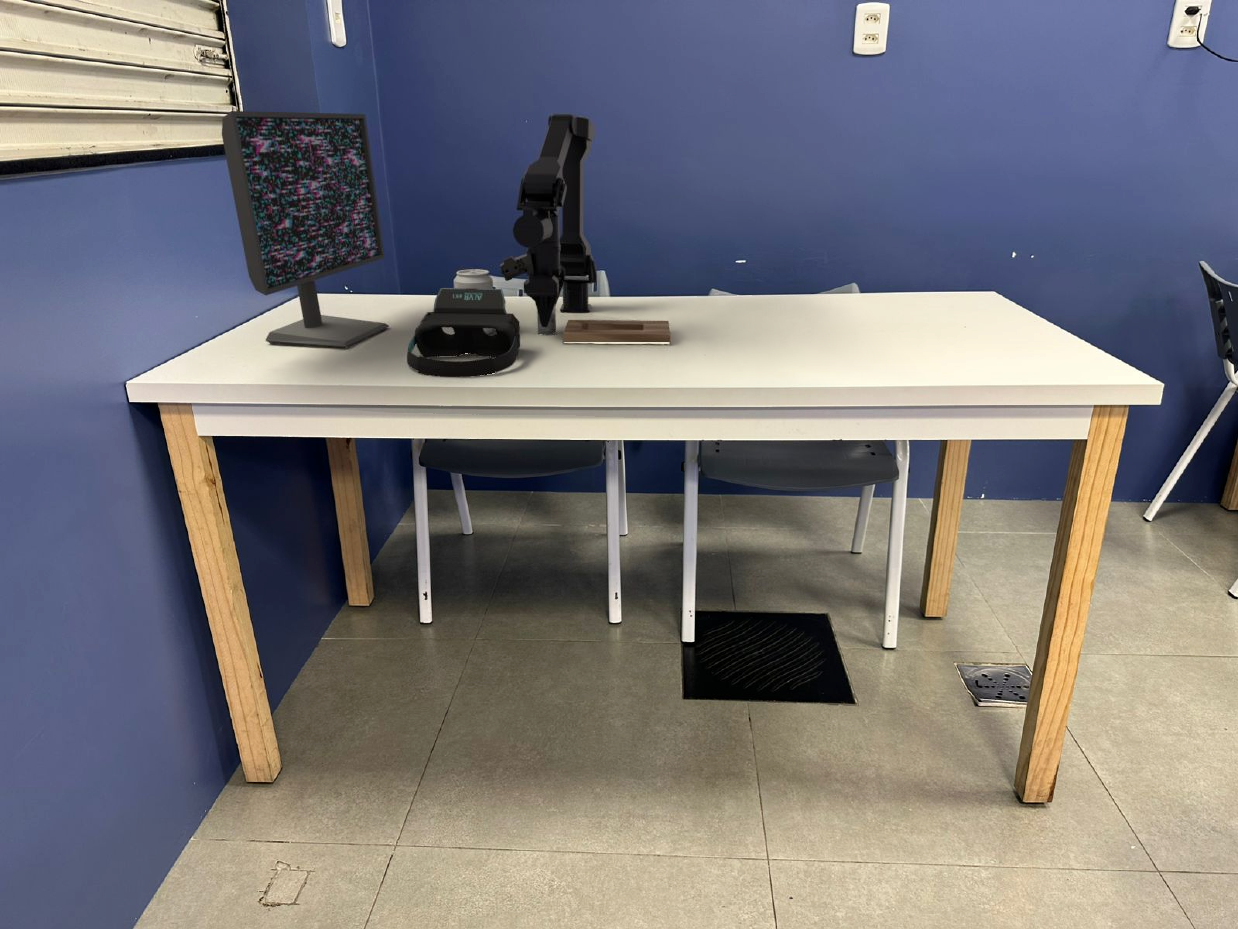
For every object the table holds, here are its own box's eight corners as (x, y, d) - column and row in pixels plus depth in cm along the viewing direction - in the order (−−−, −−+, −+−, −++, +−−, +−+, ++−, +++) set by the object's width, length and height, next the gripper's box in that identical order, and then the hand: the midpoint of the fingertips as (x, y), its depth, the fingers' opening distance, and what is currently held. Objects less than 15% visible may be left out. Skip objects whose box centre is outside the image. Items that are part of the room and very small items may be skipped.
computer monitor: (309, 367, 144) (274, 110, 130) (222, 362, 147) (179, 110, 133) (416, 315, 184) (399, 114, 169) (347, 312, 187) (324, 113, 172)
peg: (538, 330, 171) (537, 290, 168) (556, 330, 171) (555, 290, 168) (536, 334, 168) (535, 293, 165) (555, 335, 168) (554, 294, 165)
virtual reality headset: (525, 340, 160) (523, 288, 155) (512, 392, 141) (509, 335, 136) (425, 338, 160) (419, 287, 154) (398, 390, 141) (391, 333, 136)
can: (453, 336, 166) (449, 273, 162) (461, 327, 173) (457, 267, 169) (491, 336, 166) (488, 274, 162) (498, 328, 173) (495, 267, 169)
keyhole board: (568, 329, 172) (568, 319, 171) (668, 330, 171) (668, 320, 171) (563, 343, 161) (562, 333, 160) (670, 344, 160) (670, 334, 160)
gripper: (509, 234, 172) (512, 312, 177) (494, 247, 154) (498, 332, 160) (564, 235, 171) (566, 312, 177) (556, 247, 154) (558, 333, 160)
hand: (546, 322), depth 168 cm, fingers open, 8 cm apart
